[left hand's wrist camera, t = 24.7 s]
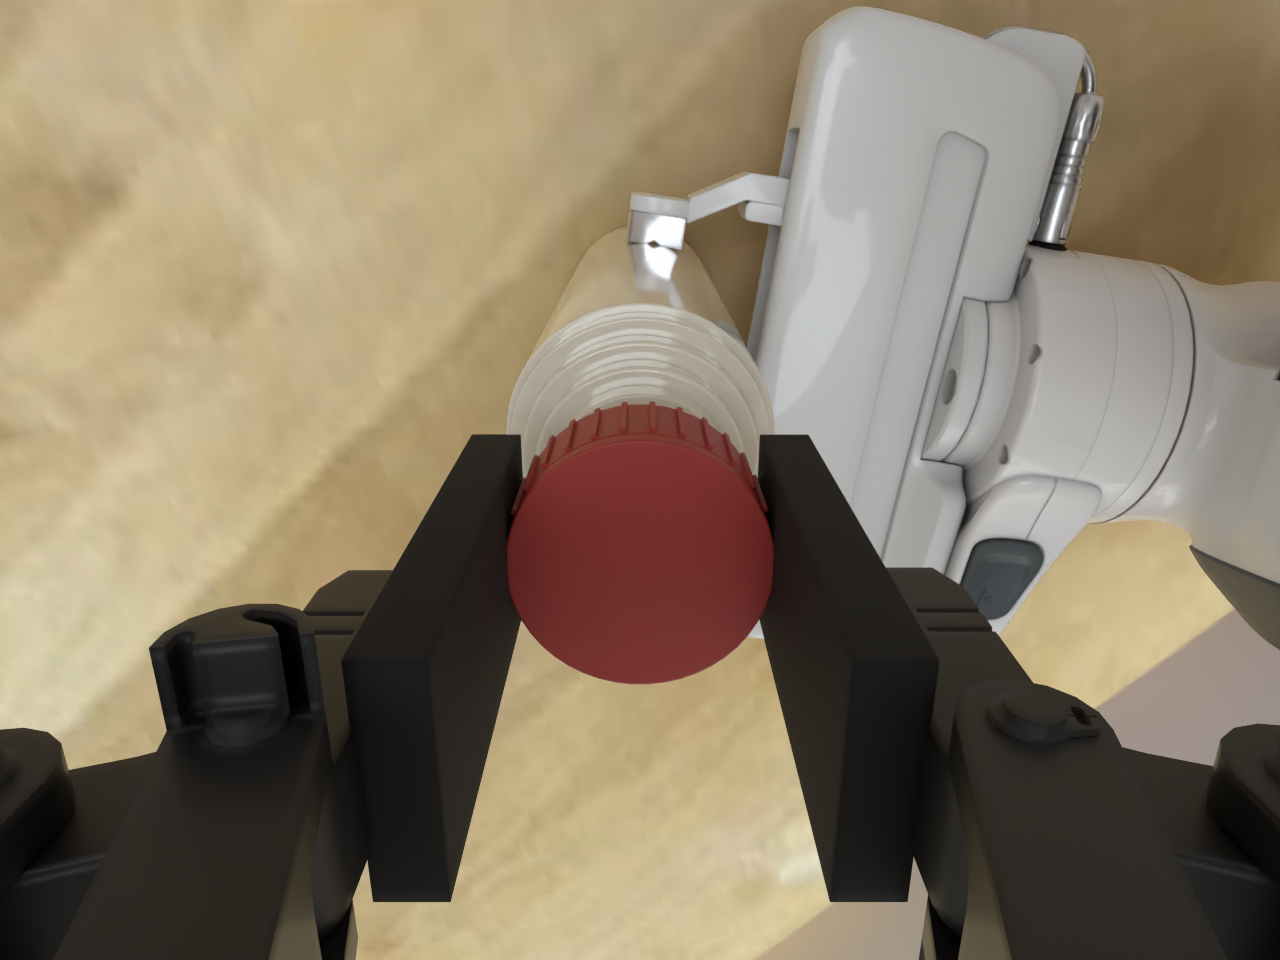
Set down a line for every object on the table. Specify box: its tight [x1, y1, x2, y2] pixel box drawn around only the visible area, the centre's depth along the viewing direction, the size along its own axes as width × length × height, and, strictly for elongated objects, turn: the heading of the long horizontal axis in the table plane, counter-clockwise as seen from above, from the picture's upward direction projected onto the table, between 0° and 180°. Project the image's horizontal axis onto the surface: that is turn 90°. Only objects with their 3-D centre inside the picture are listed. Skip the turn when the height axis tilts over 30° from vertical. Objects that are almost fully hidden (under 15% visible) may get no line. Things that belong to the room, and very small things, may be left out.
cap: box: [507, 402, 774, 684], centre depth 13 cm, size 4×4×2 cm
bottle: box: [506, 227, 775, 478], centre depth 24 cm, size 5×5×24 cm
